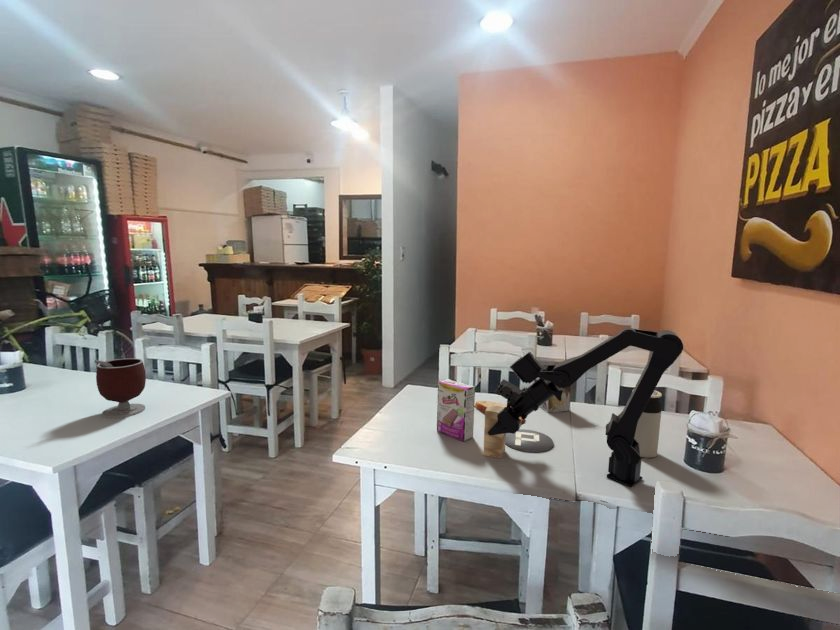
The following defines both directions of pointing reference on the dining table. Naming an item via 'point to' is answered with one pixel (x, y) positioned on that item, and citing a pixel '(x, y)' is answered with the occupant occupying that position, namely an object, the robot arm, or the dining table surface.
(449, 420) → the candy bar box
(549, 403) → the coffee box
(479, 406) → the slice of bread
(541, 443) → the letter board
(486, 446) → the oak block
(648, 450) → the travel mug
